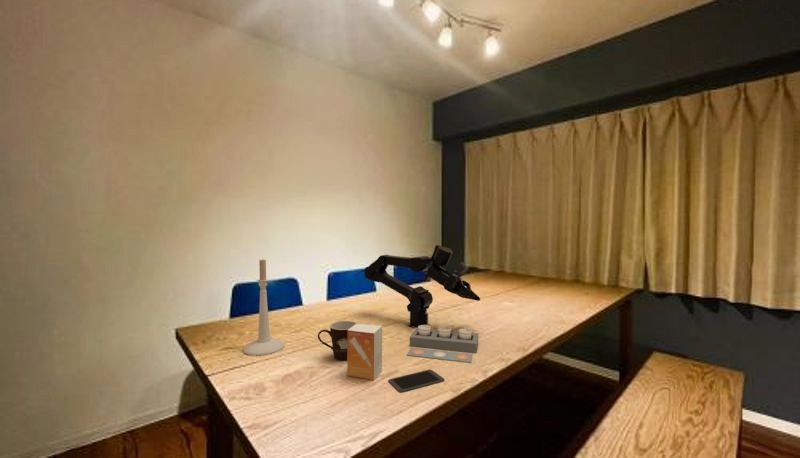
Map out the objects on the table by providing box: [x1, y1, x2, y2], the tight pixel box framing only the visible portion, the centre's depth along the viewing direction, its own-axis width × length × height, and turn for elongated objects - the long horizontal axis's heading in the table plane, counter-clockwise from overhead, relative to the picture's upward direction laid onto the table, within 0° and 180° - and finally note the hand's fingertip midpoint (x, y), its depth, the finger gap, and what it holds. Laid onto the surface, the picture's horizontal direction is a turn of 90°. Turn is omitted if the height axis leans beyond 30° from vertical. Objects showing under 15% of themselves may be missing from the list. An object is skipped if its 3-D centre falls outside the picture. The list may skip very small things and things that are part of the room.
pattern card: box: [406, 347, 473, 364], centre depth 110 cm, size 20×6×1 cm, turn 74°
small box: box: [346, 323, 383, 381], centre depth 97 cm, size 8×6×13 cm
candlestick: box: [242, 259, 286, 356], centre depth 115 cm, size 13×13×30 cm
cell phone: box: [387, 369, 445, 394], centre depth 93 cm, size 7×14×1 cm, turn 117°
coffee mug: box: [317, 320, 358, 362], centre depth 109 cm, size 12×9×10 cm
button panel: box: [409, 327, 479, 354], centre depth 120 cm, size 22×10×3 cm, turn 74°
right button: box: [458, 327, 473, 340], centre depth 118 cm, size 4×4×3 cm
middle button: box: [437, 326, 452, 338], centre depth 120 cm, size 4×4×3 cm
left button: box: [417, 324, 432, 336], centre depth 121 cm, size 4×4×3 cm
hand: (477, 298), depth 125 cm, fingers open, 9 cm apart
